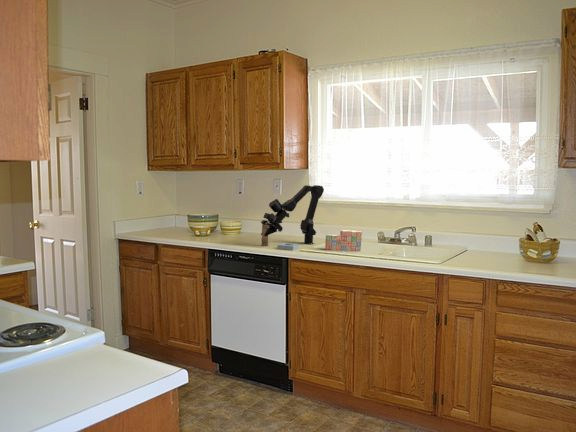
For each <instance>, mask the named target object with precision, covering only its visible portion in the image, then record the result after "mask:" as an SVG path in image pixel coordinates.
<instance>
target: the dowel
mask: <svg viewBox="0 0 576 432" xmlns="http://www.w3.org/2000/svg"><path fill="white" fill-rule="evenodd" d="M261 225H262V226H261V233H262V235H261V244H260V245H261V246H262V247H268V246H269V235H267V236H265V233H266V232H267V230H268V229H269V225H263V224H261Z"/></svg>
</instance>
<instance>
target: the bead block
mask: <svg viewBox="0 0 576 432" xmlns="http://www.w3.org/2000/svg"><path fill="white" fill-rule="evenodd" d="M299 247H300V245H299V244H298V243H288V242H287V243H286V242H282V243H279V244H277V250H283V251H285V250H286V251H295V250H298V249H299Z"/></svg>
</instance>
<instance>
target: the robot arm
mask: <svg viewBox="0 0 576 432" xmlns="http://www.w3.org/2000/svg"><path fill="white" fill-rule="evenodd" d="M324 191H325V189H324V187H323V186H322V185H319V184H317V185H315V184H314V185H307V184H306V185H304V186H303V187H302V188H301V189H300V190H299V191H298V192H297V193H296V194H295V195H293V197H292V198H290V199H288V200H286V201H285V202H283V203H281V202H280V201H279V199H278V198H275V199H273V200H272V201H271V202H270V203H268V207H269V208H270V209H271V210H272V211H273V213H269V212H265V213H264V215H263V216H262V217H263V218H264V219H263V220H261V221H260V223H261V225H269V229H268V230H267V232H266V233H265V236H267V235H268V236H269V235H273V234H274V233H277V232H279V233H281V232H282V231H283V229H284V228H283V226H282V225H281V224H283V220H284V219H286V218H290V213H289V212H291V213H292V212H293V211H295V208H297V205H298V203H299V202H300V201H301V200H302V199H303V198H304V197H305V196H306V195H307V194H308V193H309V192H310V196H311V197H310V201H309V206H308V208H307V212H306V214H305V215H306V216H305V218H304V219H301V222H300V224H299V226H300V230H301V233H302V234H303V235H304V239H303V240H304V242H302V244H303V243H313V242H314V236H316V234H317V231H316V230H315V228H314V217H315V214H316V210H317V207H318V203H319V200H320V199H321V197H322V196H323V194H324ZM260 235H261V236H262V232H261V233H260Z"/></svg>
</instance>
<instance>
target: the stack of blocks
mask: <svg viewBox="0 0 576 432" xmlns="http://www.w3.org/2000/svg"><path fill="white" fill-rule="evenodd" d="M362 233H363V232H362V231H360V230H352V229H351V230H349V229H346V230H345V229H340V232H339V234H332V233H331V234H330V233H329V234H328V233H327V234H325V246H324V248H326V249H325V251H342V252H361V251H362V250H361V249H362V248H361V247H362V238H363V237H362Z"/></svg>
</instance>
